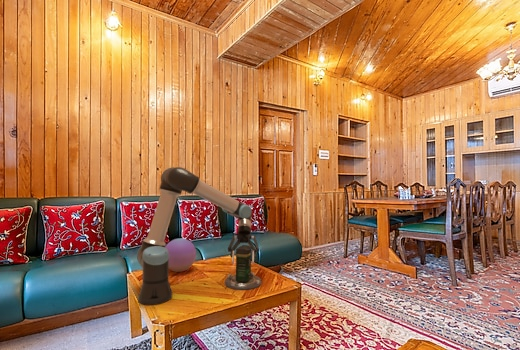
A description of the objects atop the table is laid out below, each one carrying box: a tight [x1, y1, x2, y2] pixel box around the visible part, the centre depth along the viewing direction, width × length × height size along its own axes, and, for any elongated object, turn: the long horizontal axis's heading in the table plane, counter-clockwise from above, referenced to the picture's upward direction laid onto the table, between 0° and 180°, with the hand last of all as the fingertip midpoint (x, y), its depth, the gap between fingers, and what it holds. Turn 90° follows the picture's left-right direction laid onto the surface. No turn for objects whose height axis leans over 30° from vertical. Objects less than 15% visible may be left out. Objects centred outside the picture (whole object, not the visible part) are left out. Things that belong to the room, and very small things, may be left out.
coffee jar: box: [235, 244, 252, 283], centre depth 157 cm, size 10×8×19 cm
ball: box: [165, 237, 197, 273], centre depth 177 cm, size 20×20×20 cm
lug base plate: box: [224, 271, 262, 291], centre depth 157 cm, size 20×20×3 cm
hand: (242, 262), depth 154 cm, fingers open, 10 cm apart
